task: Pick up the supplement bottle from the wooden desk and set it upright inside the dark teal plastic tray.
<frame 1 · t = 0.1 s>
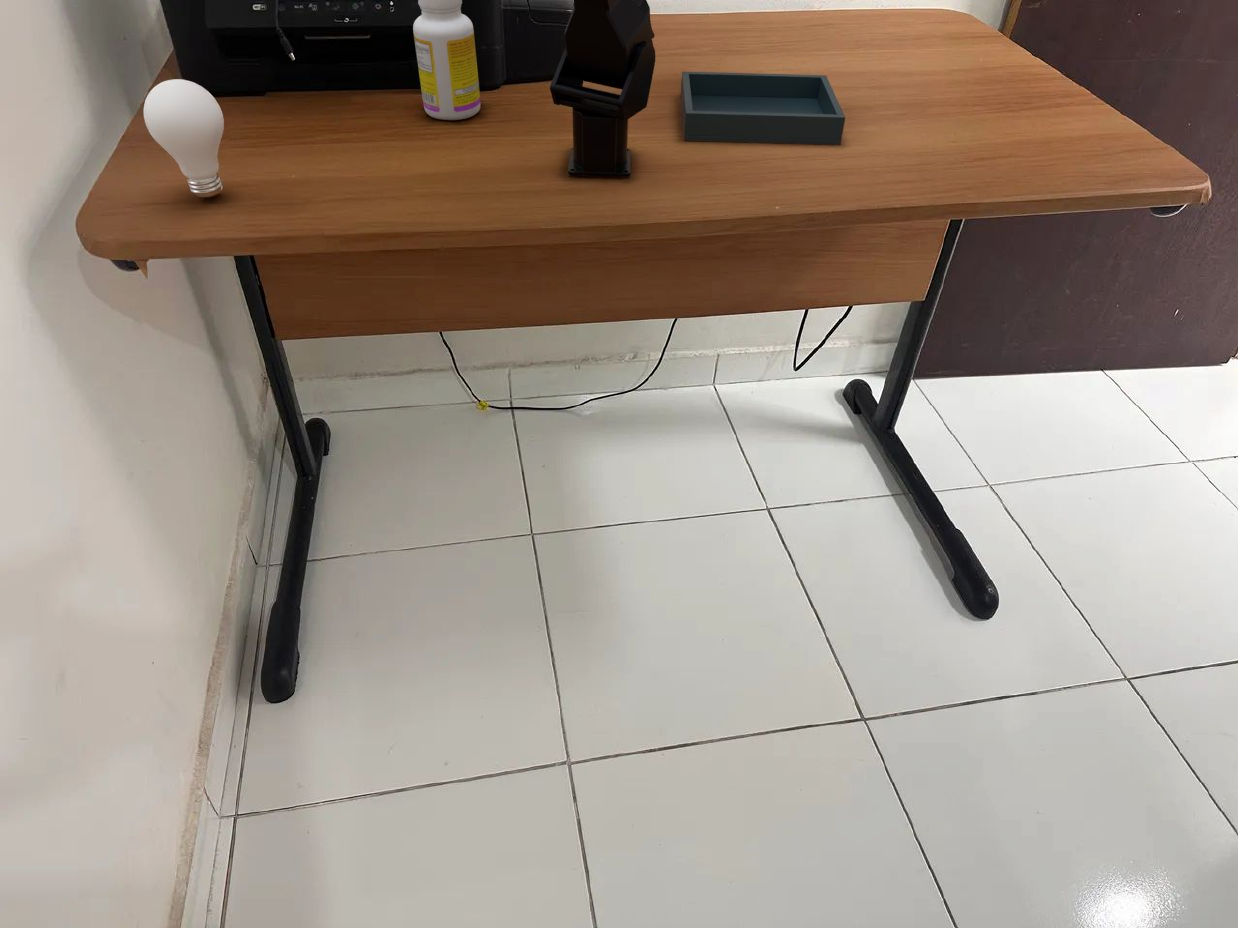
light bulb: (210, 199, 85), on the table
supplement bottle: (453, 113, 103), on the table
tray: (756, 120, 102), on the table
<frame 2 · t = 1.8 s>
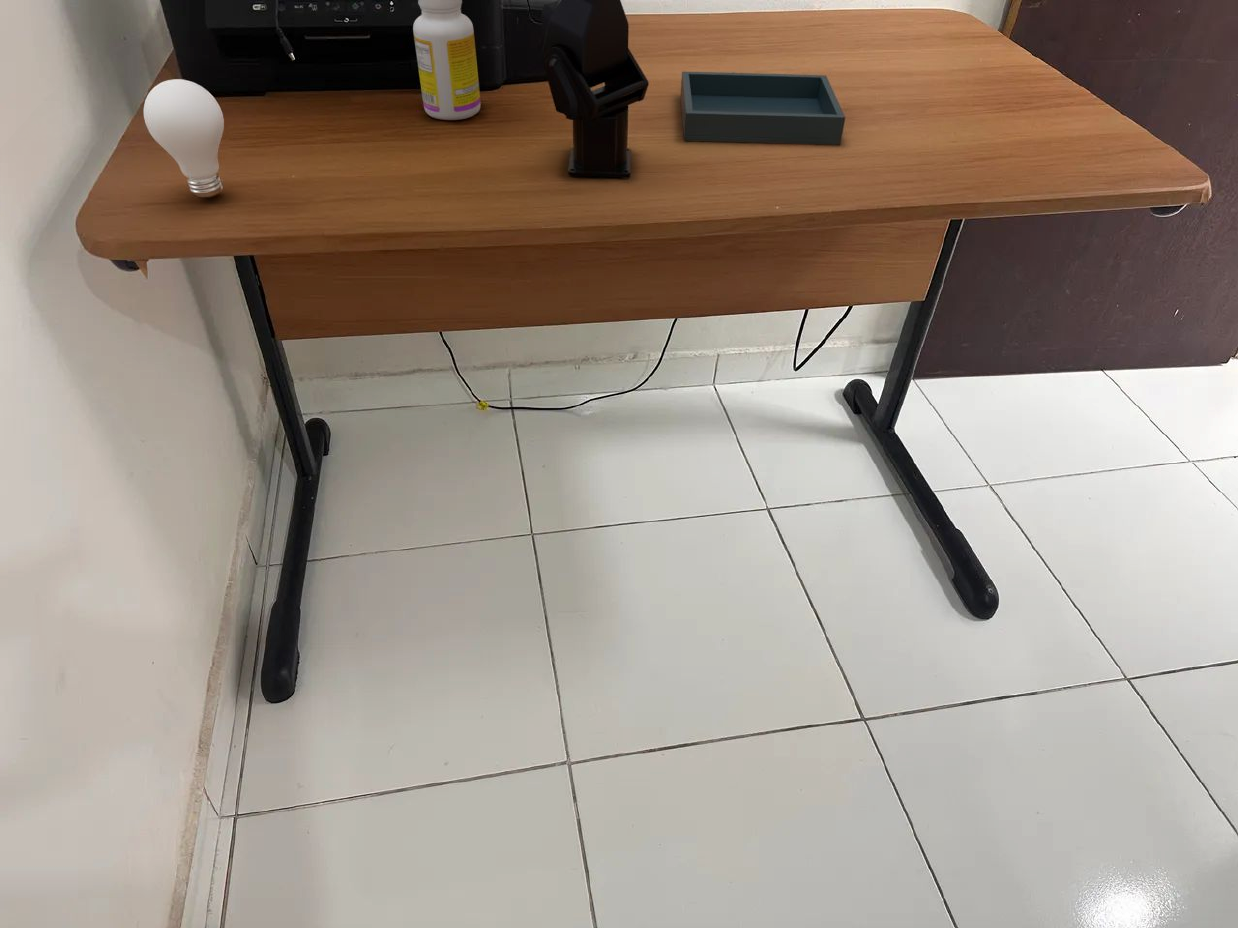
nothing on the table moved.
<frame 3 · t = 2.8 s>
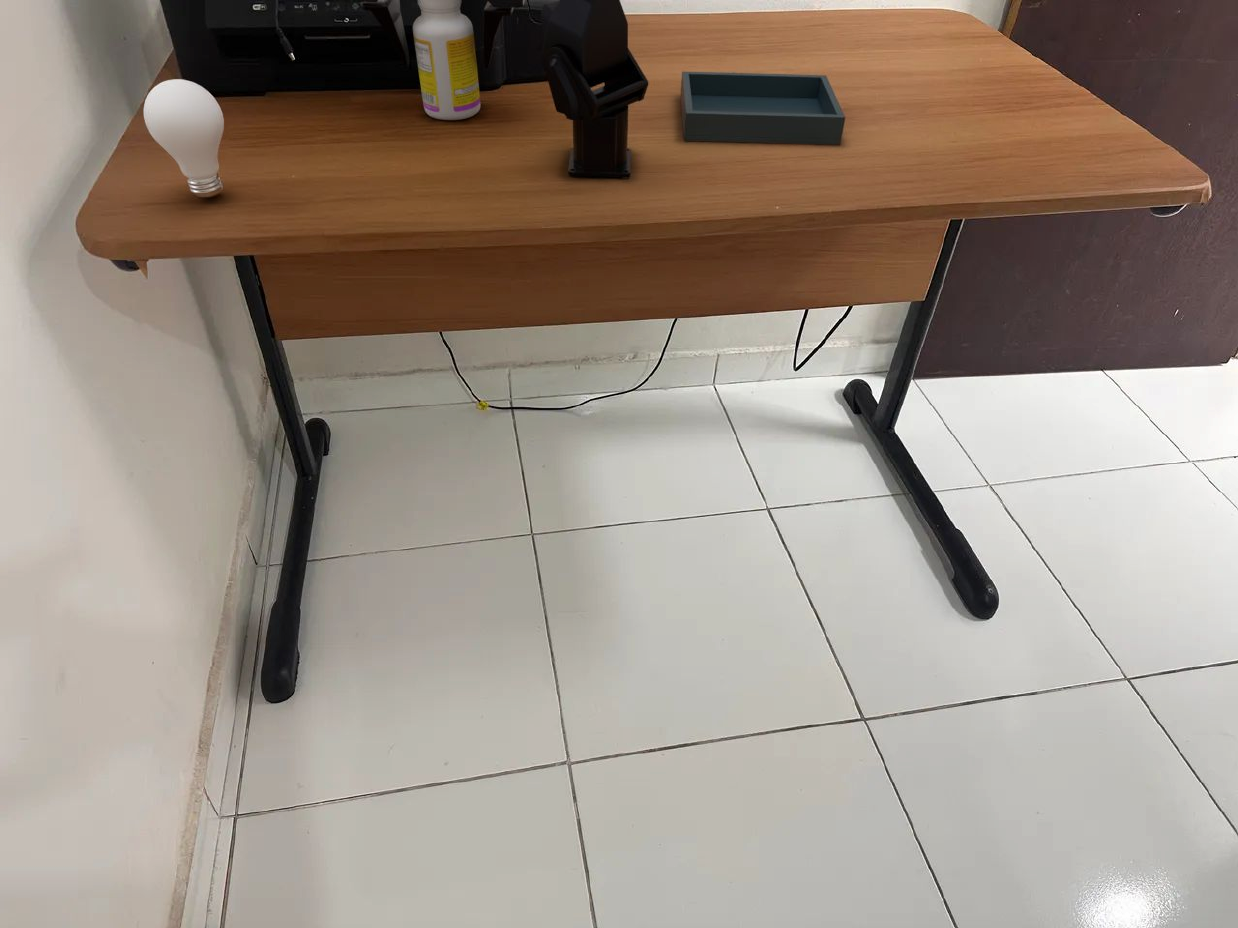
hand: (447, 66, 99), 5 cm above the table, tool pointing down
supplement bottle: (453, 113, 103), on the table, touching gripper
everything else where it was.
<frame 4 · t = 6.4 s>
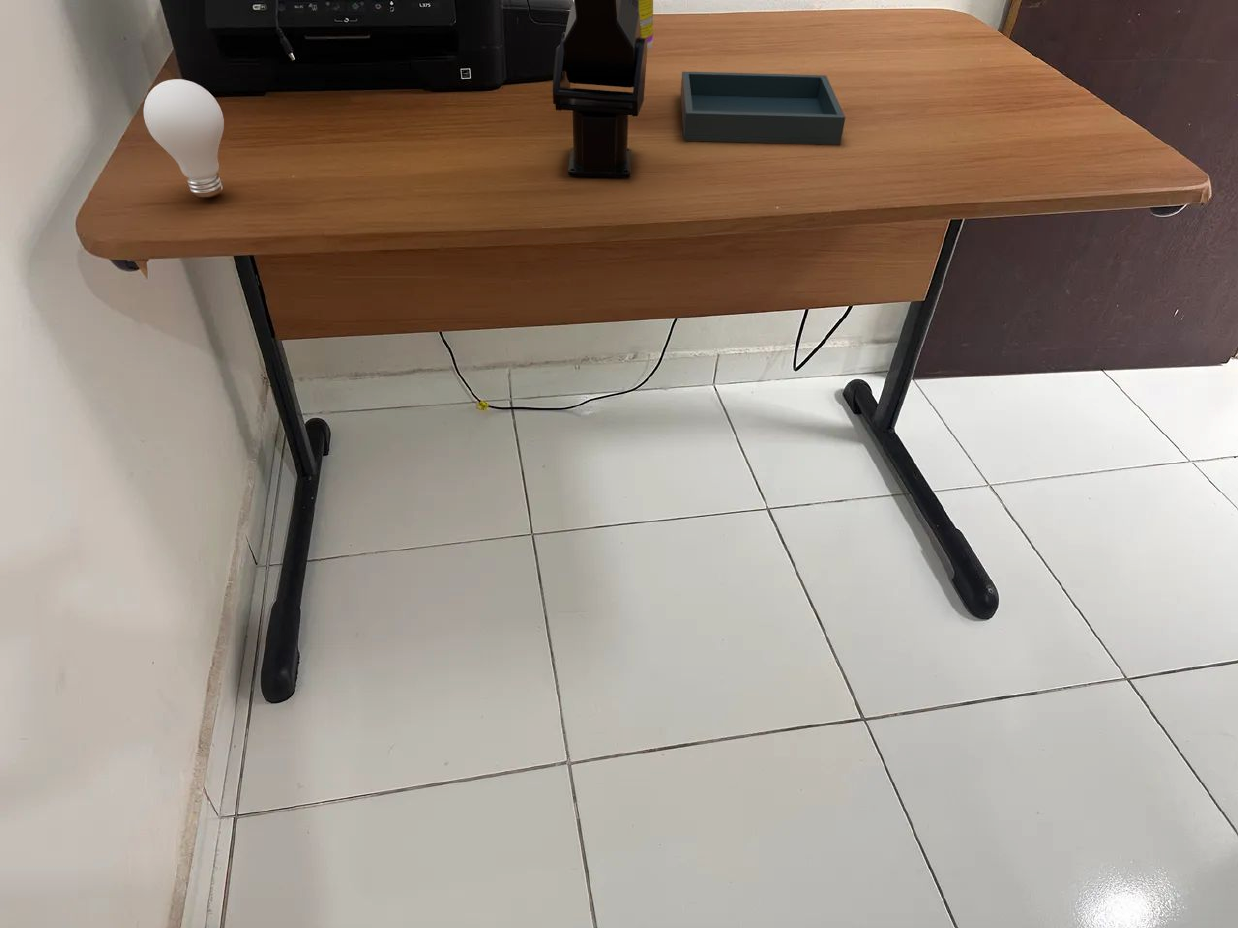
supplement bottle: (623, 51, 97), point 7 cm above the table, touching gripper
everything else where it was.
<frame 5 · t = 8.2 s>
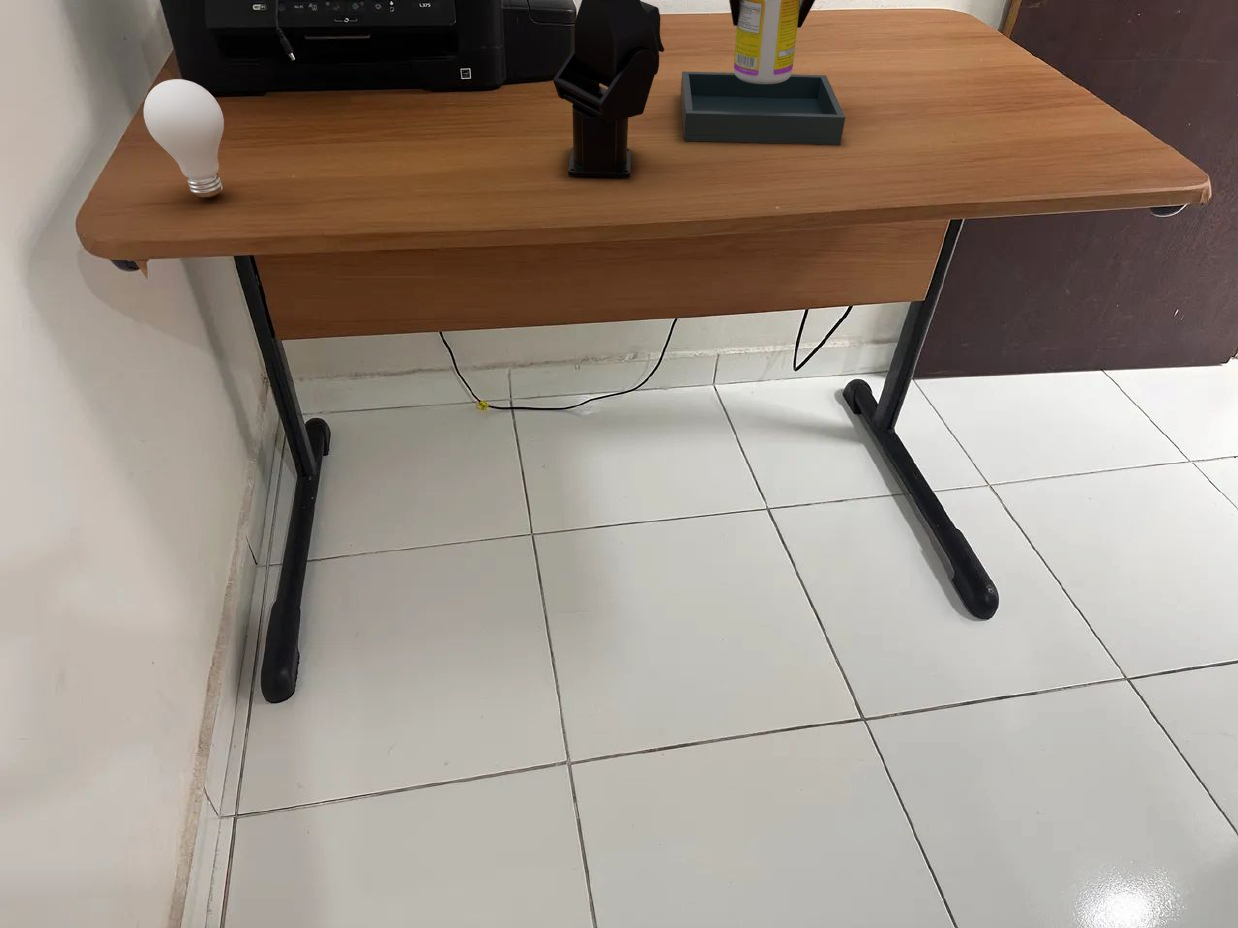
hand: (766, 26, 95), 10 cm above the table, tool pointing down, fingers closed on supplement bottle, 7 cm apart
supplement bottle: (761, 78, 99), point 5 cm above the table, touching gripper
everything else where it was.
when the fingers open (6 cm above the table, at t = 9.6 s): supplement bottle stays where it is, resting on tray.
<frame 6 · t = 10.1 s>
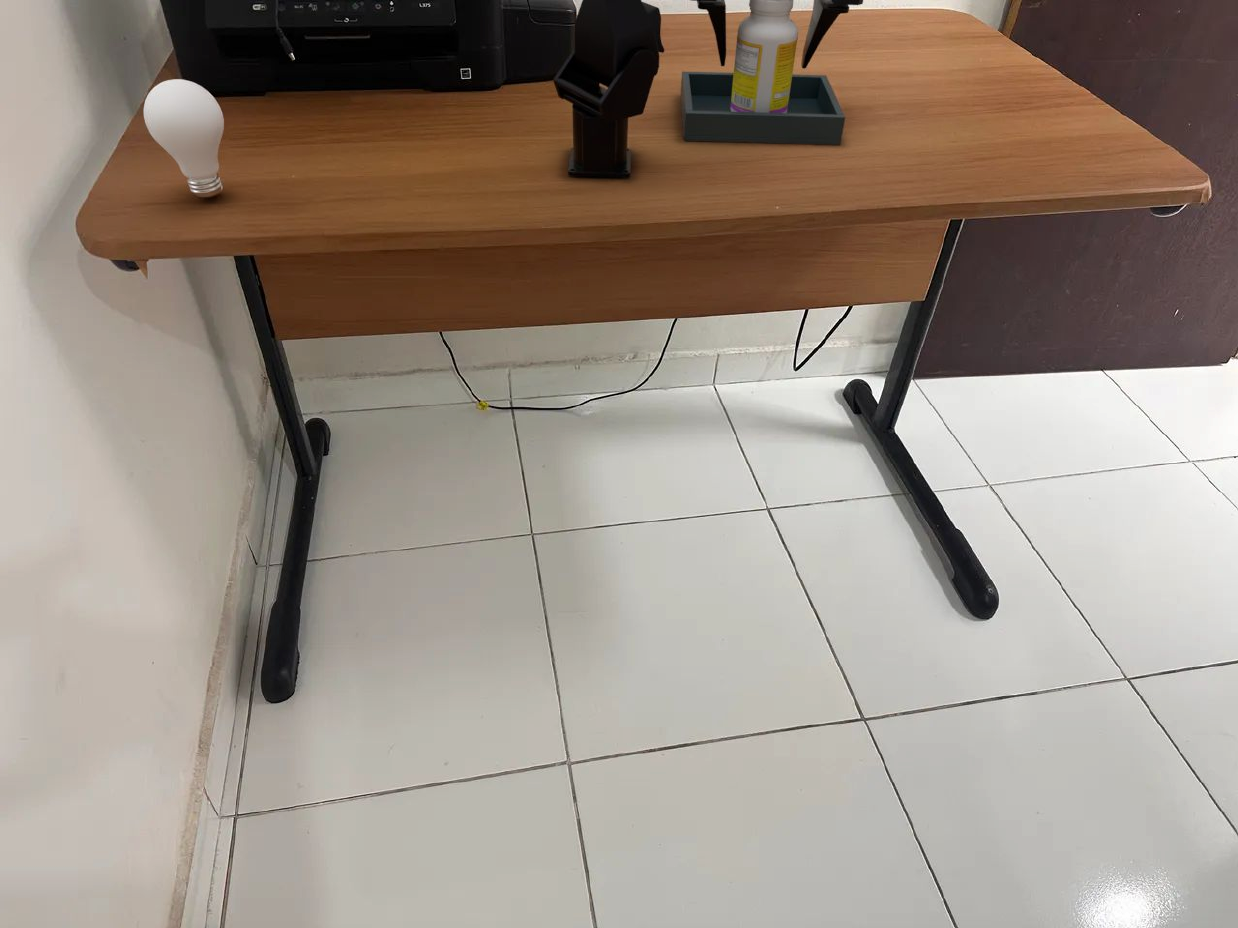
hand: (762, 66, 98), 6 cm above the table, tool pointing down, fingers open, 9 cm apart
supplement bottle: (757, 117, 102), resting on tray
everything else where it was.
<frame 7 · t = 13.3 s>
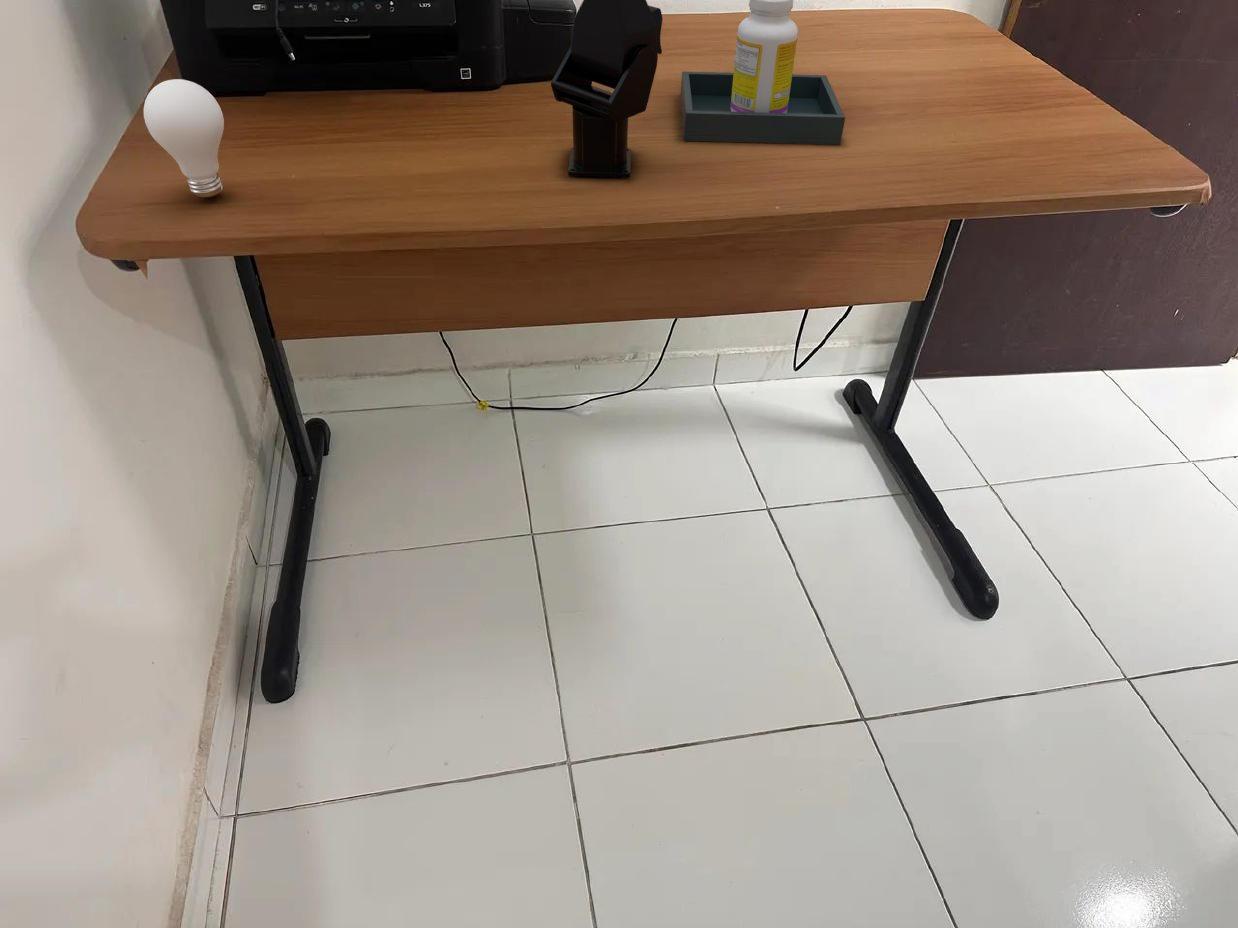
nothing on the table moved.
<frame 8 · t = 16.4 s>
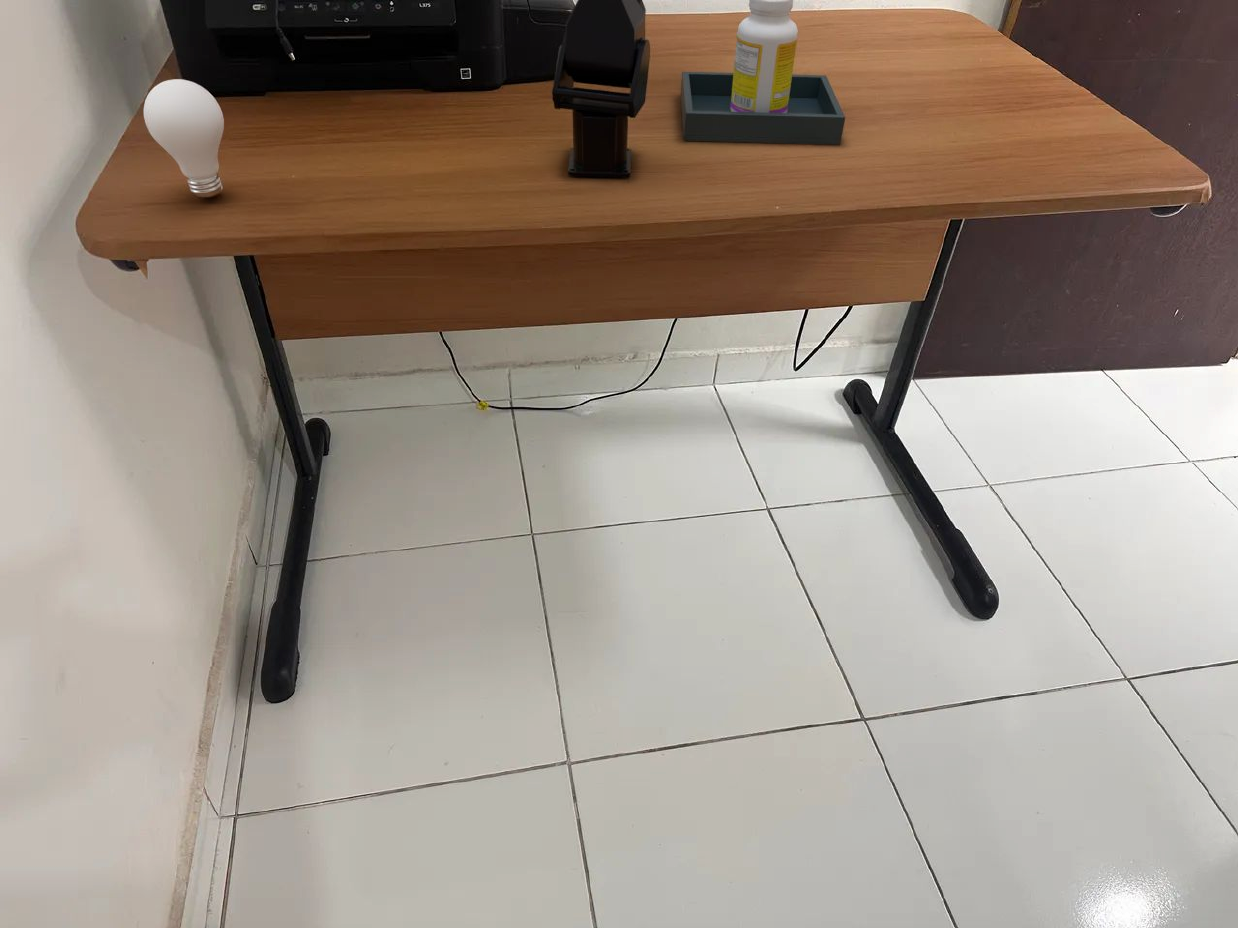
nothing on the table moved.
at the end: supplement bottle inside the target area in the tray (0.2 cm from its centre), point 0.4 cm above the tray's base; supplement bottle tilted 0°; the gripper is holding nothing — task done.
